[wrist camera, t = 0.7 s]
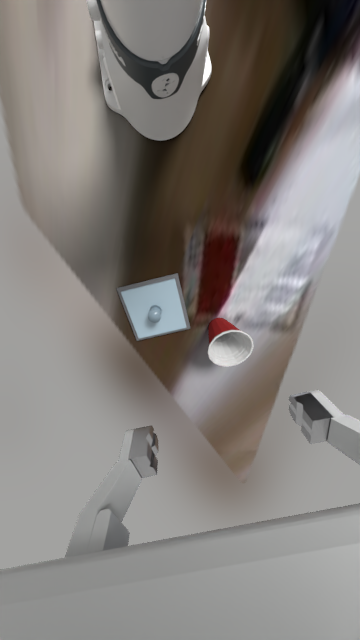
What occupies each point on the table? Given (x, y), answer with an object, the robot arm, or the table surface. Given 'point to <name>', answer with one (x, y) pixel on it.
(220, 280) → the table surface
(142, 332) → the lid
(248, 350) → the plastic cup
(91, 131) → the table surface
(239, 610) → the robot arm
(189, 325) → the grey flat square plate
